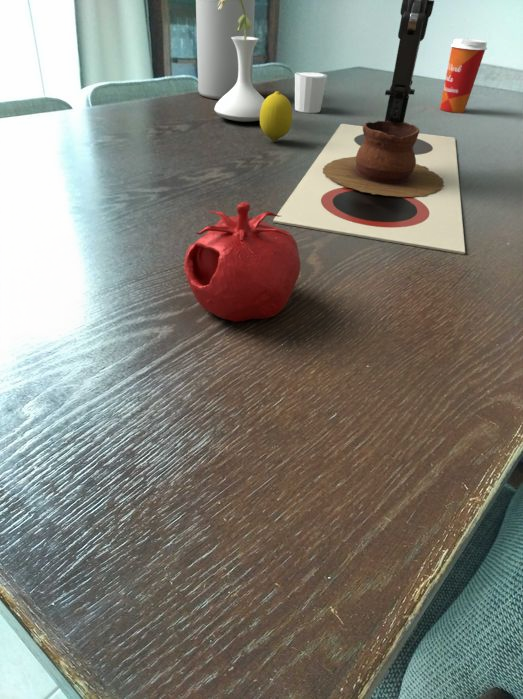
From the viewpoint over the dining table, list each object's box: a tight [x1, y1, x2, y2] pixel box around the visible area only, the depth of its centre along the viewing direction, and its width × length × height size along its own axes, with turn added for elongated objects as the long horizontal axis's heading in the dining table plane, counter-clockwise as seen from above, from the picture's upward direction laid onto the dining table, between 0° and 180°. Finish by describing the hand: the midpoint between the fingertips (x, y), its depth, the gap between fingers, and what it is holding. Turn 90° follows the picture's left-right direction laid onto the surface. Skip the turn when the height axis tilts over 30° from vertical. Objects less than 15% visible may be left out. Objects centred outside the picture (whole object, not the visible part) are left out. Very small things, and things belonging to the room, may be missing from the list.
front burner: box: [321, 187, 430, 228], centre depth 64 cm, size 14×14×1 cm
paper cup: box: [439, 38, 488, 114], centre depth 112 cm, size 8×8×14 cm
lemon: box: [259, 90, 293, 143], centre depth 84 cm, size 6×6×8 cm
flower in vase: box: [214, 0, 266, 123], centre depth 90 cm, size 13×11×25 cm
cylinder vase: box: [195, 0, 256, 101], centre depth 108 cm, size 12×12×25 cm
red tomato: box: [183, 201, 301, 323], centre depth 42 cm, size 10×10×9 cm
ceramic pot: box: [323, 120, 444, 197], centre depth 72 cm, size 18×18×7 cm
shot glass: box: [294, 71, 328, 114], centre depth 106 cm, size 7×7×7 cm
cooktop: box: [272, 123, 466, 255], centre depth 76 cm, size 22×52×1 cm, turn 164°
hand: (389, 142), depth 75 cm, fingers closed
